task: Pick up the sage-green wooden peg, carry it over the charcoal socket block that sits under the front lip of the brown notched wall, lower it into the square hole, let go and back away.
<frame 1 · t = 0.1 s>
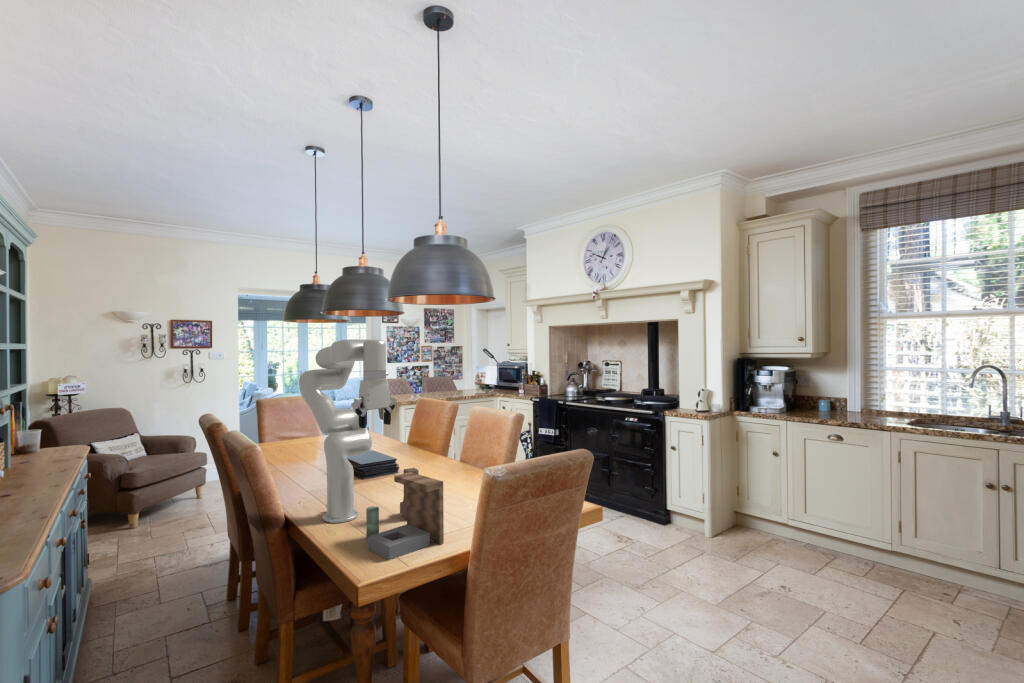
hand: (375, 426, 173), 37 cm above the table, tool pointing down, fingers open, 9 cm apart
brown notched wall: (418, 539, 168), on the table
wooden block: (409, 516, 190), on the table
socket block: (395, 548, 160), on the table
peg: (372, 538, 169), on the table
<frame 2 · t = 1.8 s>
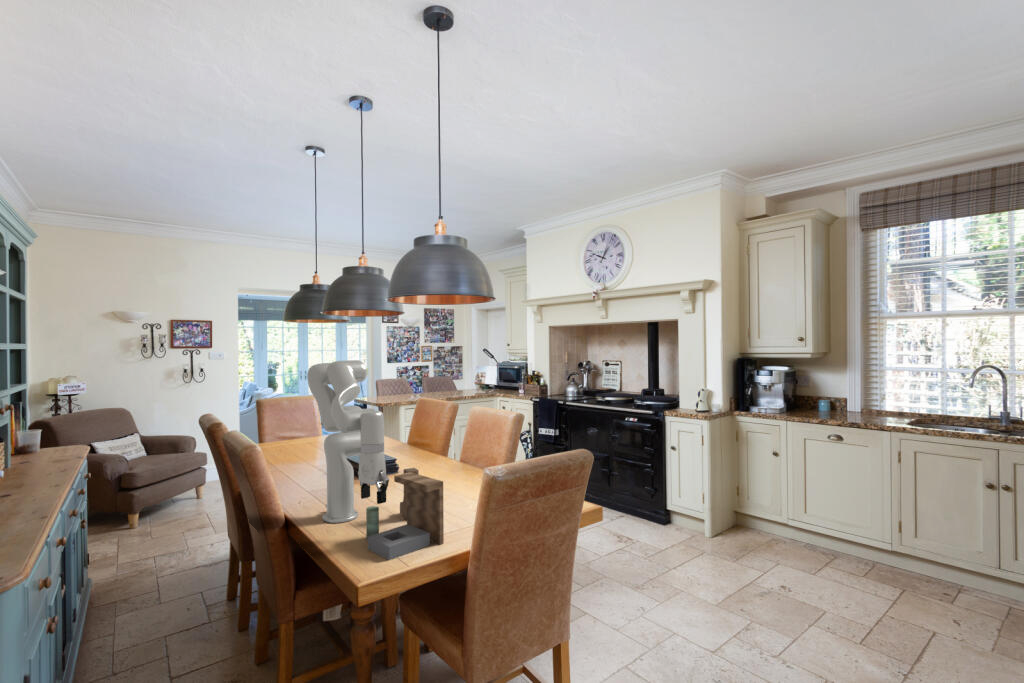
hand: (373, 500, 168), 13 cm above the table, tool pointing down, fingers open, 9 cm apart
nothing on the table moved.
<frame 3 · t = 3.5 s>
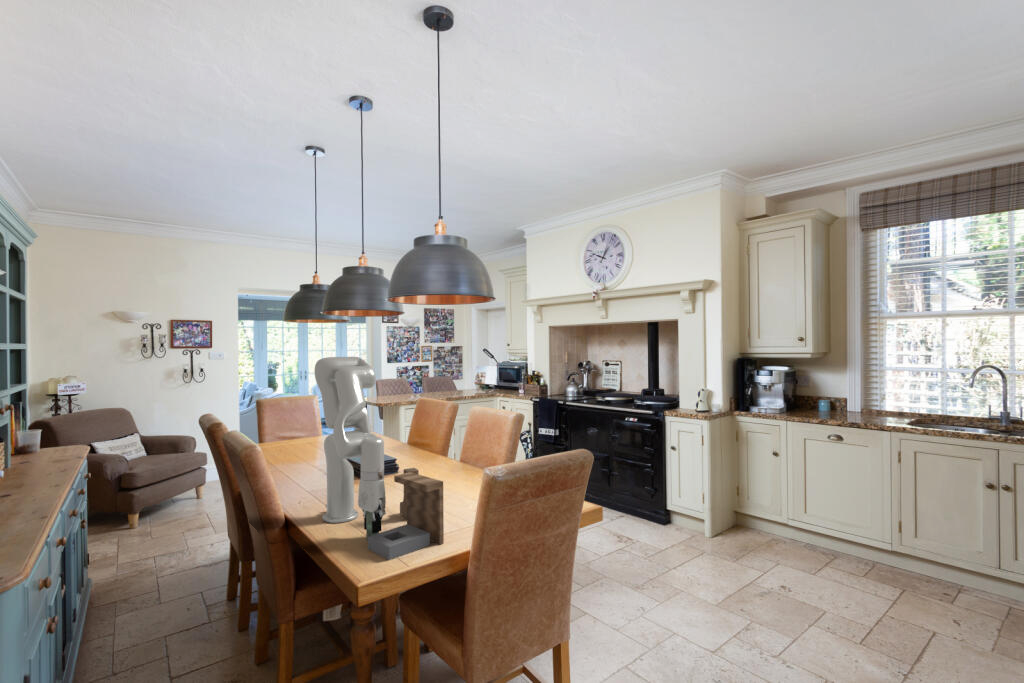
hand: (372, 529, 169), 3 cm above the table, tool pointing down, fingers closed on peg, 4 cm apart
peg: (372, 538, 169), on the table, touching gripper
everything else where it was.
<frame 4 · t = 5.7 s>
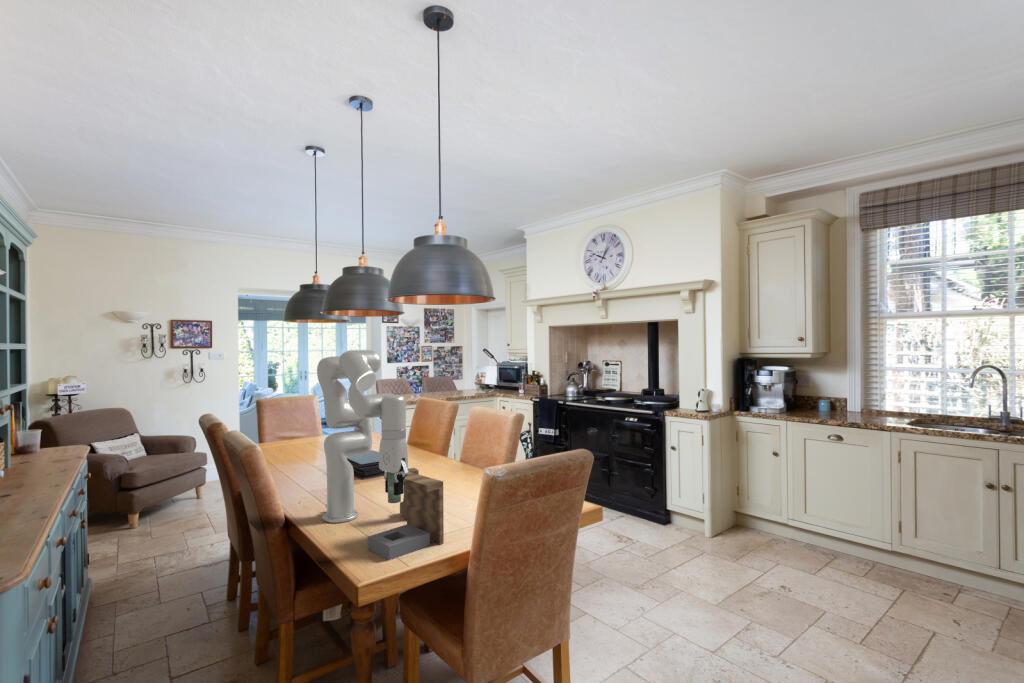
hand: (394, 492, 160), 18 cm above the table, tool pointing down, fingers closed on peg, 4 cm apart
peg: (394, 501, 160), point 15 cm above the table, touching gripper
everything else where it was.
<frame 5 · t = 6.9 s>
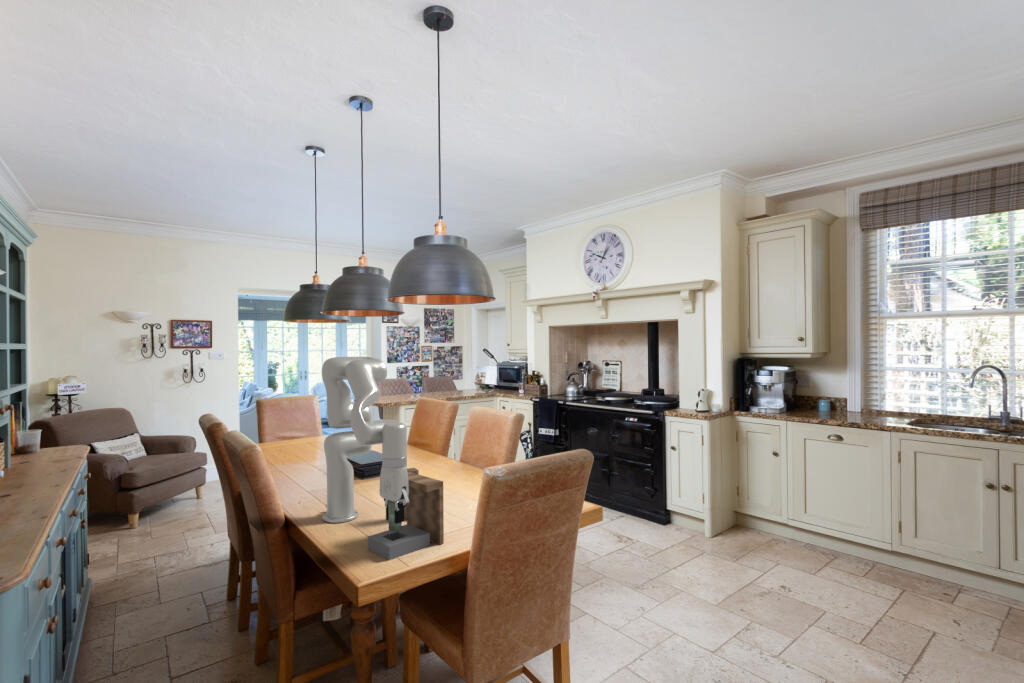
hand: (395, 520, 160), 9 cm above the table, tool pointing down, fingers closed on peg, 4 cm apart
peg: (395, 529, 160), point 6 cm above the table, touching gripper
everything else where it was.
when the fingers open (5 cm above the table, at t = 8.0 s): peg drops 2 cm, resting in socket block.
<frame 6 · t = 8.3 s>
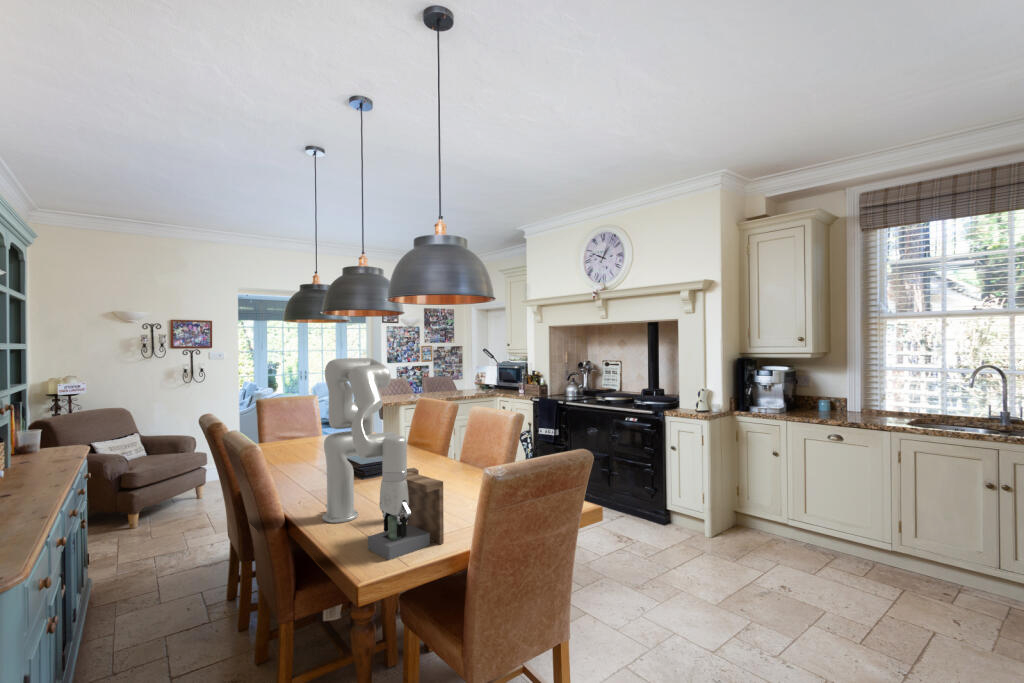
hand: (395, 532, 160), 5 cm above the table, tool pointing down, fingers open, 6 cm apart
peg: (395, 548, 160), resting in socket block
everything else where it was.
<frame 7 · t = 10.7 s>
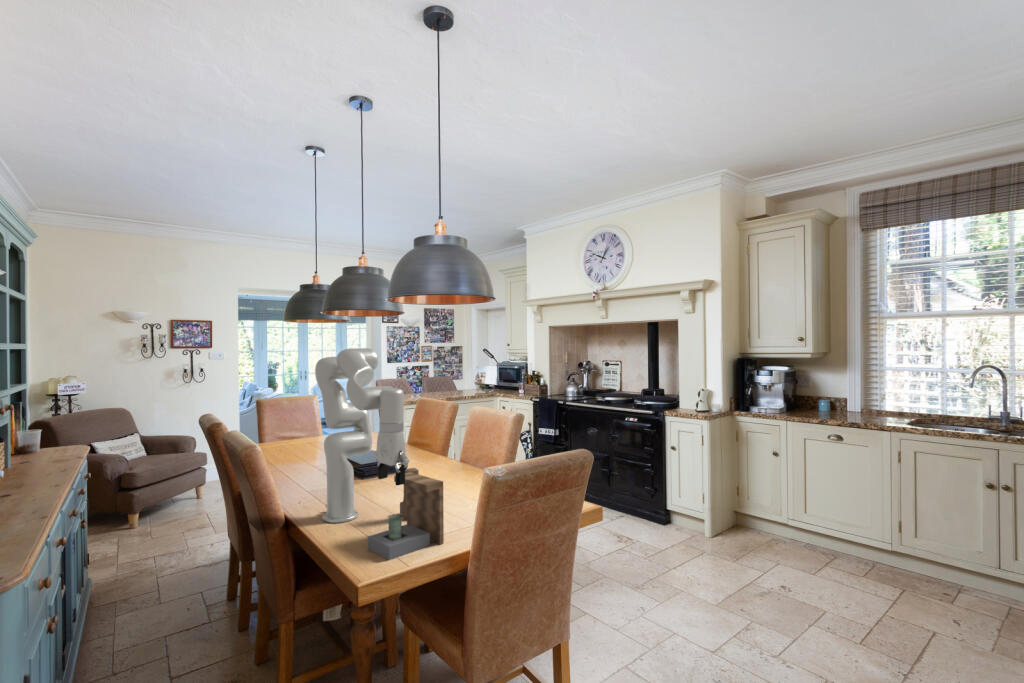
hand: (391, 481, 161), 21 cm above the table, tool pointing down, fingers open, 9 cm apart
nothing on the table moved.
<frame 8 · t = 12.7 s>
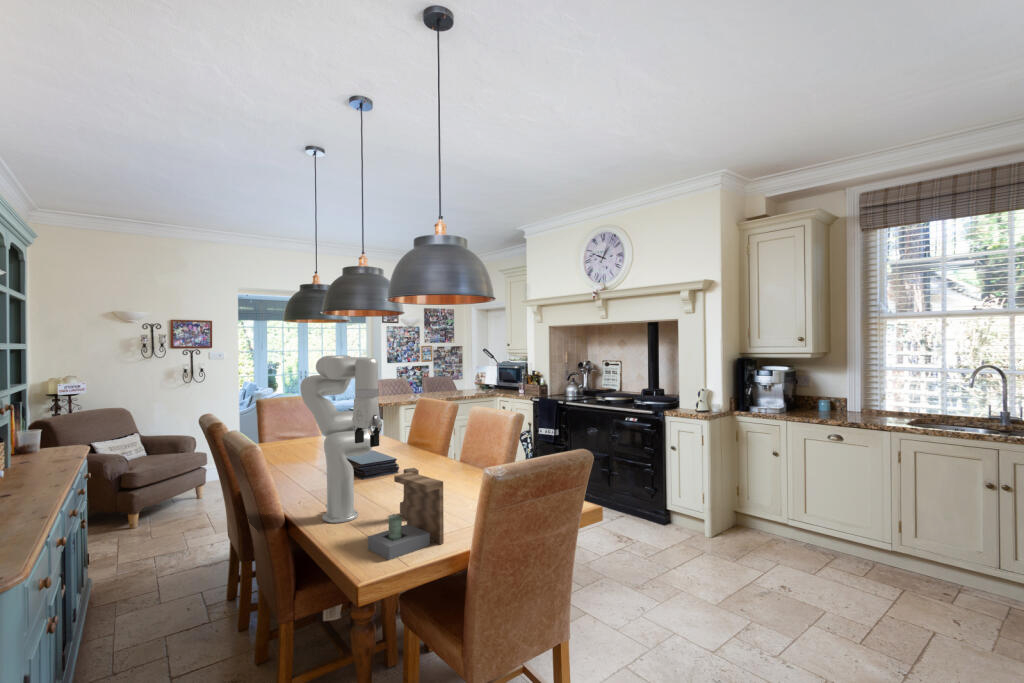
hand: (366, 444, 173), 30 cm above the table, tool pointing down, fingers open, 9 cm apart
nothing on the table moved.
at the end: peg 0.0 cm off-centre on the socket block, point 0.0 cm above the socket block's base; peg tilted 0°; the gripper is holding nothing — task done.
